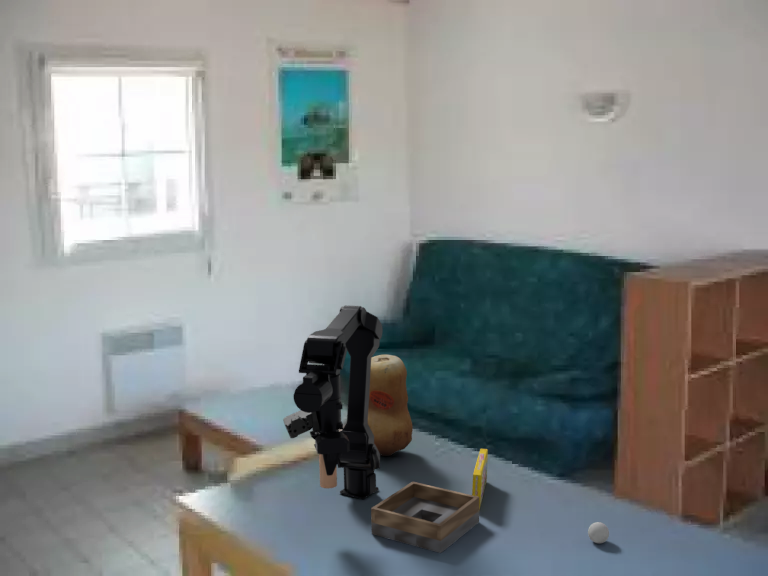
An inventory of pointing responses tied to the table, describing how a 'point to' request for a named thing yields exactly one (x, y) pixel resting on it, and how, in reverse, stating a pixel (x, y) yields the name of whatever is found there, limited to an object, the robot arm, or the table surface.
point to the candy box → (480, 475)
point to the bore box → (425, 516)
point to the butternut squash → (389, 405)
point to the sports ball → (598, 532)
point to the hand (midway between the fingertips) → (328, 471)
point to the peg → (324, 478)
